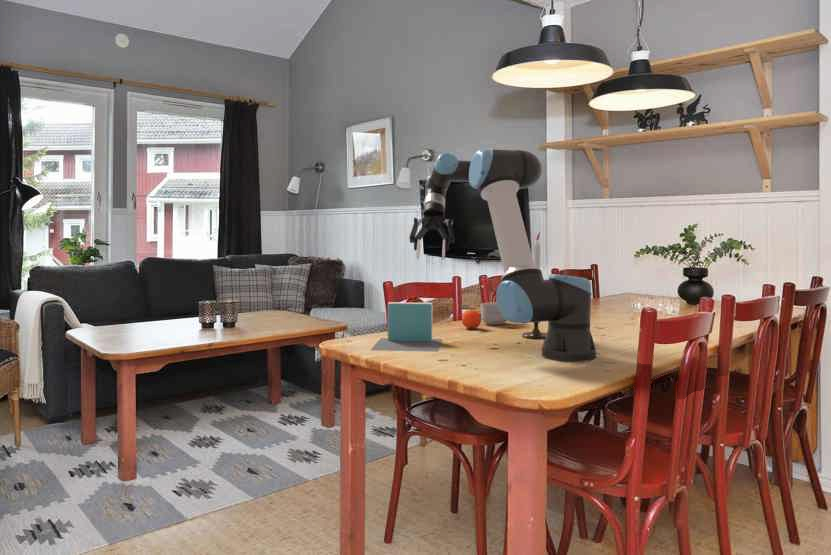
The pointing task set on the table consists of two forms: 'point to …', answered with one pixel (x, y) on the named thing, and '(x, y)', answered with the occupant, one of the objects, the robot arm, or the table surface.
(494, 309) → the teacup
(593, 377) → the table surface
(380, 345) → the mat
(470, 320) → the clementine
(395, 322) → the tile
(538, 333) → the candlestick
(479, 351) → the table surface
